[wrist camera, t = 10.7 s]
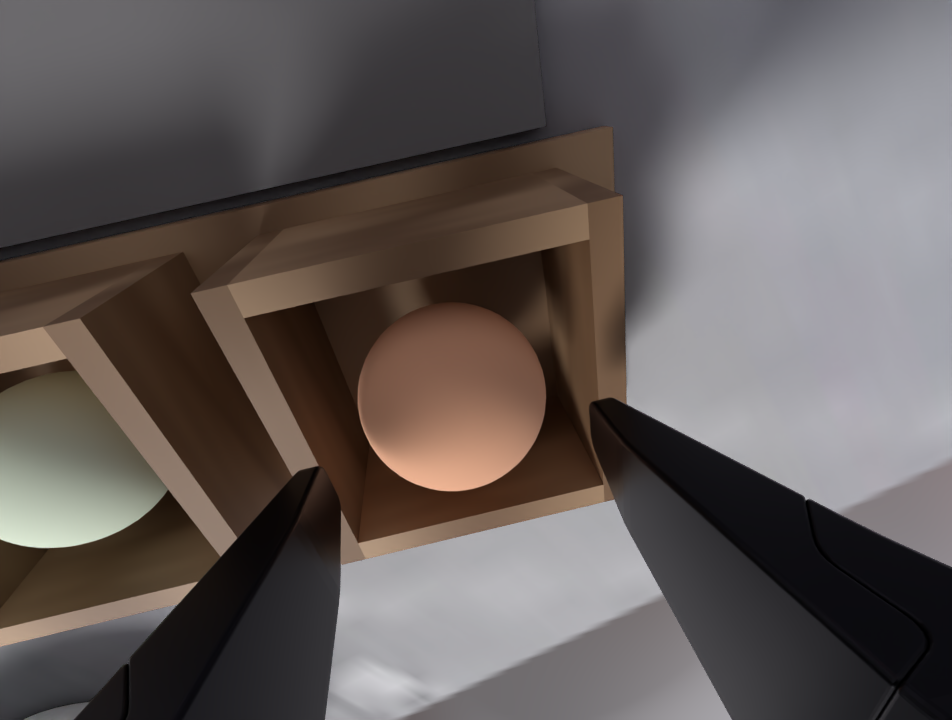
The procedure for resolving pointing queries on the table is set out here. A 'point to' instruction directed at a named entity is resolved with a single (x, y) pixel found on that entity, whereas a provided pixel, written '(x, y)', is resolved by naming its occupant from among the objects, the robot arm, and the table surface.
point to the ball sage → (67, 466)
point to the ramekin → (60, 712)
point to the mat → (241, 97)
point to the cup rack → (314, 359)
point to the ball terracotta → (451, 396)
